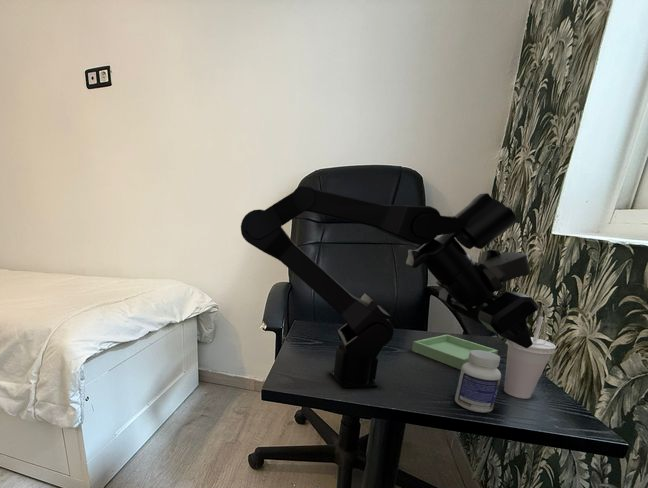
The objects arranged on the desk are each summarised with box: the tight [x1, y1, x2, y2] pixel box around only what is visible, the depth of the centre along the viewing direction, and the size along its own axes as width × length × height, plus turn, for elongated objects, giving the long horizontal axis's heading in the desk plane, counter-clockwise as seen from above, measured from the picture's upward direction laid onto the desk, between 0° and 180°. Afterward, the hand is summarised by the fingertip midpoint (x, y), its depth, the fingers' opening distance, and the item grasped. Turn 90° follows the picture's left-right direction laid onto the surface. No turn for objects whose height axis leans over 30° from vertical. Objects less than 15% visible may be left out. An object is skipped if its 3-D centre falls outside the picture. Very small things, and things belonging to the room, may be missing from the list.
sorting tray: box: [411, 334, 499, 371], centre depth 78 cm, size 12×11×2 cm
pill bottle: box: [454, 350, 502, 414], centre depth 57 cm, size 5×5×9 cm
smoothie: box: [503, 316, 557, 400], centre depth 60 cm, size 6×6×14 cm
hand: (510, 336), depth 60 cm, fingers open, 9 cm apart
